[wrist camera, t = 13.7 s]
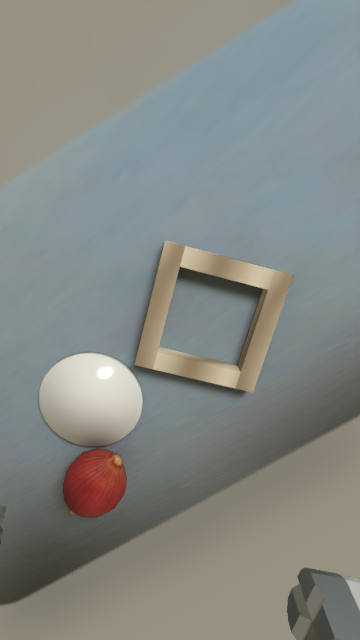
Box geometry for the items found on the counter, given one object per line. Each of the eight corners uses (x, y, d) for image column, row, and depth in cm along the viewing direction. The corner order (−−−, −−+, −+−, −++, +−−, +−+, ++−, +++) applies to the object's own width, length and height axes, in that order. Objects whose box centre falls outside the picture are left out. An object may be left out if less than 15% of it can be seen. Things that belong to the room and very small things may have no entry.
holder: (287, 273, 30) (293, 275, 29) (249, 385, 33) (252, 392, 31) (165, 240, 29) (165, 240, 28) (136, 359, 32) (134, 365, 30)
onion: (121, 429, 35) (79, 478, 37) (81, 435, 30) (34, 491, 32) (152, 476, 32) (105, 527, 34) (112, 491, 27) (59, 550, 29)
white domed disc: (153, 365, 32) (152, 367, 31) (130, 451, 34) (129, 455, 34) (50, 341, 31) (47, 343, 31) (34, 431, 34) (32, 435, 33)
